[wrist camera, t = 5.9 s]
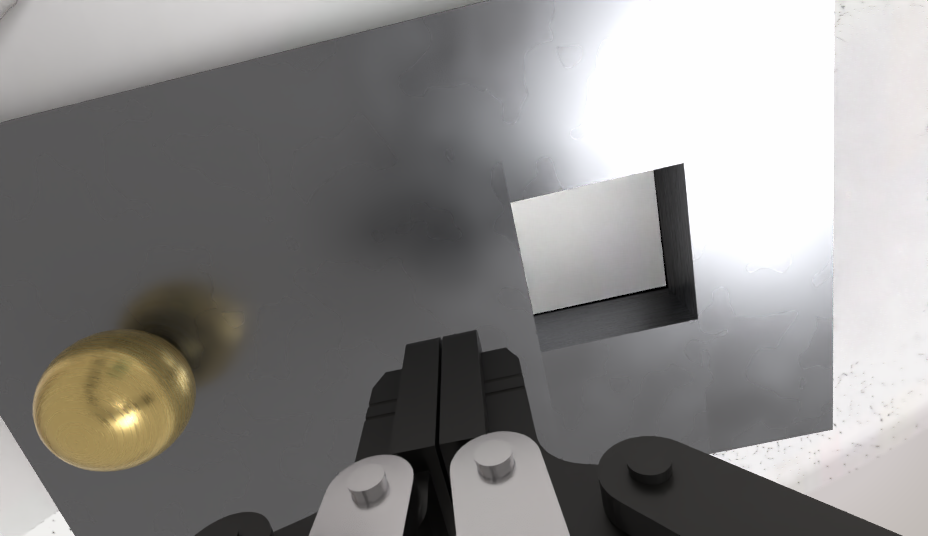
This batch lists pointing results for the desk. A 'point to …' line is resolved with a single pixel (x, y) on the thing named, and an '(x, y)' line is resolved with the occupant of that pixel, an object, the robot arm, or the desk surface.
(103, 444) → the brass knob
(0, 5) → the soldier figure
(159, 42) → the desk surface
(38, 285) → the bore plate
